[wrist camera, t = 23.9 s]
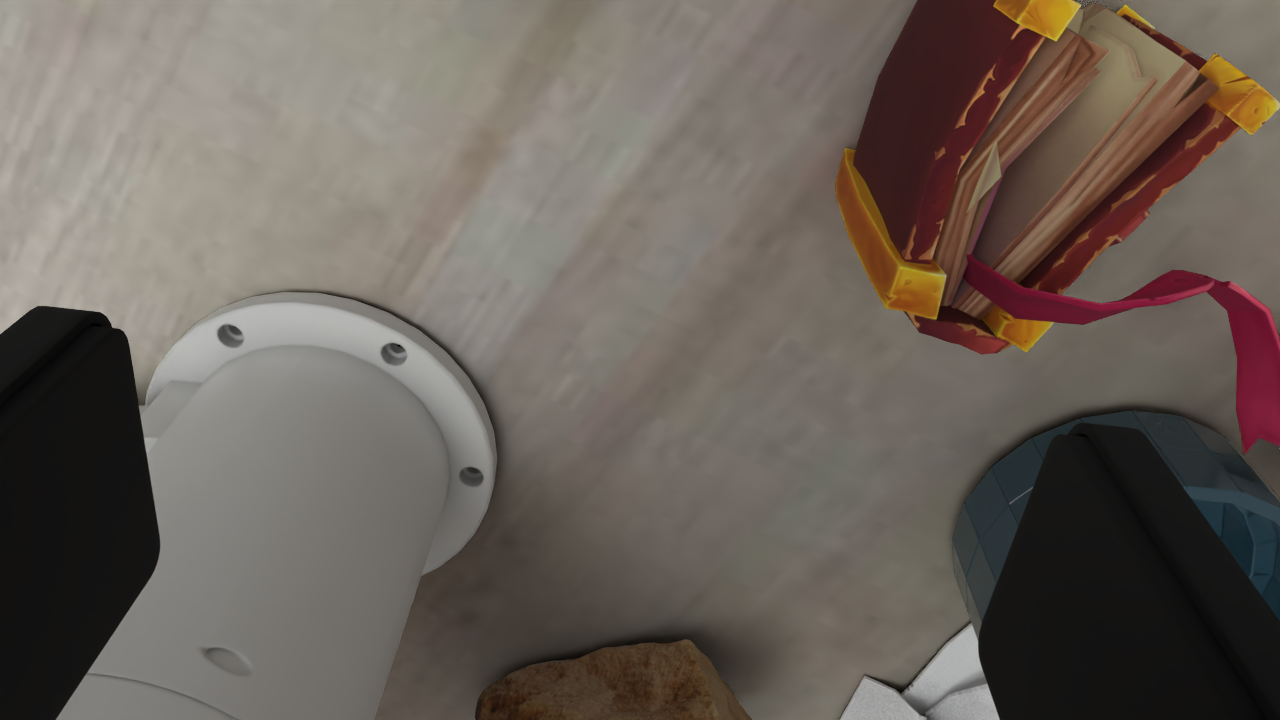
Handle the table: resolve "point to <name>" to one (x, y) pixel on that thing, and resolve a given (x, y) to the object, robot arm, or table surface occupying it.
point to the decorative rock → (615, 687)
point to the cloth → (932, 689)
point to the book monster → (1041, 173)
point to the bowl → (1198, 457)
